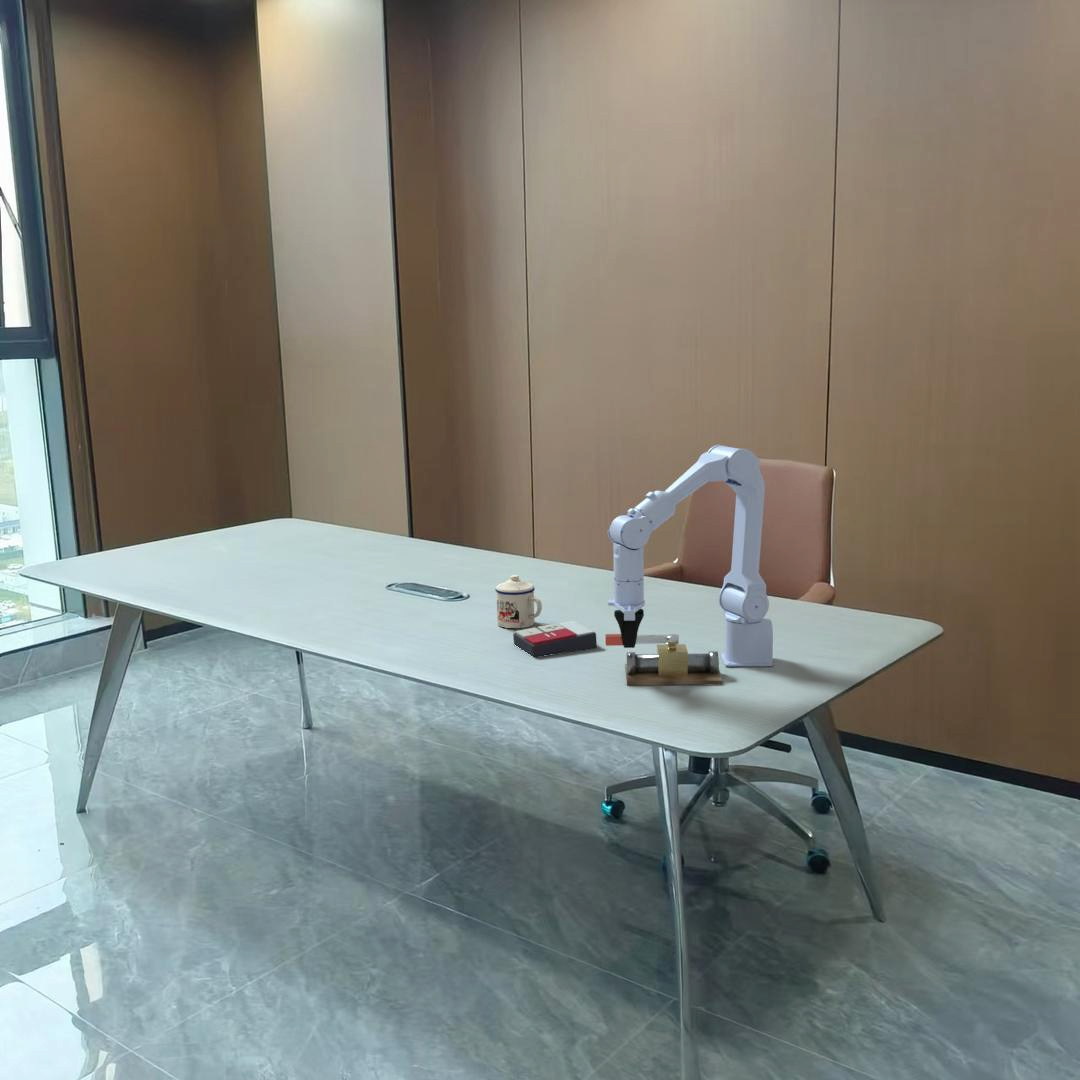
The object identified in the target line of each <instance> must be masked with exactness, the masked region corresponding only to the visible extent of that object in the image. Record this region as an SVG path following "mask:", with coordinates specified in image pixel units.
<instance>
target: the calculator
mask: <svg viewBox="0 0 1080 1080" xmlns="http://www.w3.org/2000/svg"><path fill="white" fill-rule="evenodd" d="M512 637H513V645H514V644H515V645H516V646H518V647H519V648H521V649H522V650H524V651H525V652H527V653H528V654H530V655H531V656H533V657H536V658H539V657H538V656H543V657H545V656H544V655H549V656H551V655H550V654H556V655H560V654H559V653H562V654H565V652H566V653H572V652H575V651H579V652H581V651H580V650H582V651H586V649H588V650H593V649H597V648H598V645H597V644H598V643H597V633H596V632H595V631H594V630H592V629H589V628H588V627H586V626H584V625H582V624H580V623H579V622H577V621H575V620H569V621H565V622H559V623H557V622H556V623H550V624H546V625H545V624H544V625H540V626H537V627H528V628H523V629H518V630H516V631H515V633H513V635H512ZM515 645H514V646H515ZM516 646H515V647H516ZM518 647H517V648H518ZM519 648H518V649H519ZM521 649H520V650H521ZM522 650H521V651H522ZM524 651H523V652H524ZM525 652H524V653H525ZM527 653H526V654H527ZM528 654H527V655H528ZM530 655H529V656H530ZM531 656H530V657H531ZM533 657H532V658H533Z"/></svg>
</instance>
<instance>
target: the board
mask: <svg viewBox="0 0 1080 1080" xmlns="http://www.w3.org/2000/svg"><path fill="white" fill-rule="evenodd" d="M624 669H625V671H624V672H625V680H626V685H627V686H668V685H667V684H674V685H673V686H676V685H675V684H723V680H722V677H721V676H720V675H721V674H720V672H719V671H718V674H710V673H709V672H688V676H658V672H654V673H636V674H627V663H624Z"/></svg>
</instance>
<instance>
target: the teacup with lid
mask: <svg viewBox="0 0 1080 1080" xmlns="http://www.w3.org/2000/svg"><path fill="white" fill-rule="evenodd" d="M509 578H510V579H507V580H505V581H504V582H502V583H499V584H498V585H496V587H495V592H496V614H497V618H496V619H497V625H498V627H500V626H501V627H500V628H502V627H505V628H504V629H507V628H522V629H527V628H531V627H532V626H533V625H534V624H535V618H537V617H539V616H540V615H541V613H542V609H543V605H542V602H541V601H542V600H541V599H539V598H538V597H536V596H535V594H534V593H535V592H534V591H535V585H534V584H533V583H530V582H526V581H525V580H523V579H520V577H519V575H518V574H513V575H510V577H509ZM535 603H536V607H537V608H536V611H535ZM526 627H527V628H526Z"/></svg>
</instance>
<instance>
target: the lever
mask: <svg viewBox="0 0 1080 1080" xmlns="http://www.w3.org/2000/svg"><path fill="white" fill-rule="evenodd" d="M679 643H680V636H679V634H675V633H669V634H668V633H667V634H637V639H636V644H635V645H637V644H638V645H641V644H642V645H644V644H646V645H648V644H649V645H651V644H656V645H657V644H665V645H668V644H669V645H676V644H679ZM606 646H607V647H612V646H617V647H619V646H623V642H622V637H621V633H606V634H605V647H606Z"/></svg>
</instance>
